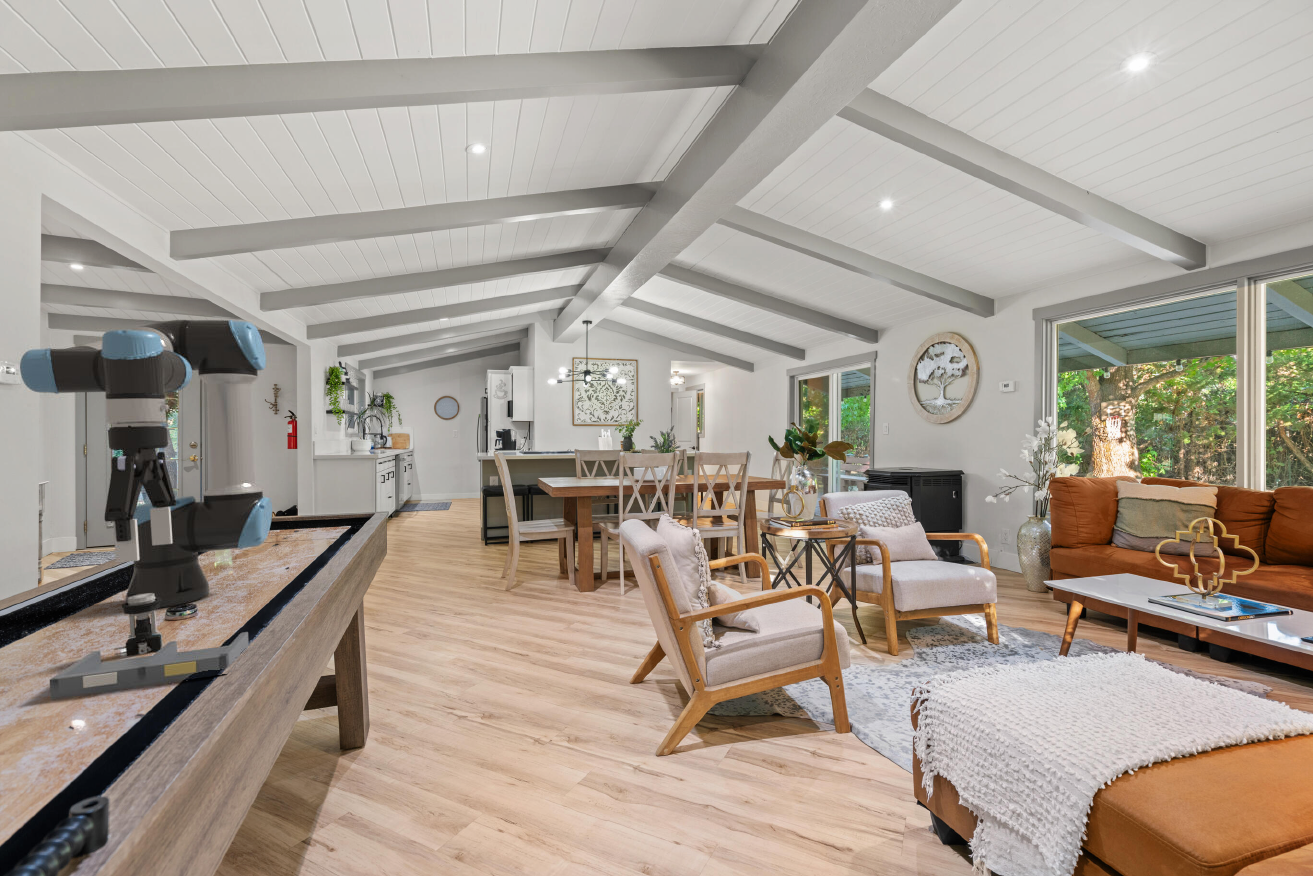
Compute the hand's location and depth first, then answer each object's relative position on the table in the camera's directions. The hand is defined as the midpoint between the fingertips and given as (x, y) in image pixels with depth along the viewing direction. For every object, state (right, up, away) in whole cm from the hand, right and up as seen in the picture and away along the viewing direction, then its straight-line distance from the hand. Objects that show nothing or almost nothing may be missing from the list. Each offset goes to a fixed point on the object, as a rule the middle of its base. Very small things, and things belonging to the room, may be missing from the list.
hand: (146, 552), depth 103 cm
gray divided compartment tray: (+5, -19, -3) cm, 20 cm away
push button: (-6, -19, +6) cm, 21 cm away
